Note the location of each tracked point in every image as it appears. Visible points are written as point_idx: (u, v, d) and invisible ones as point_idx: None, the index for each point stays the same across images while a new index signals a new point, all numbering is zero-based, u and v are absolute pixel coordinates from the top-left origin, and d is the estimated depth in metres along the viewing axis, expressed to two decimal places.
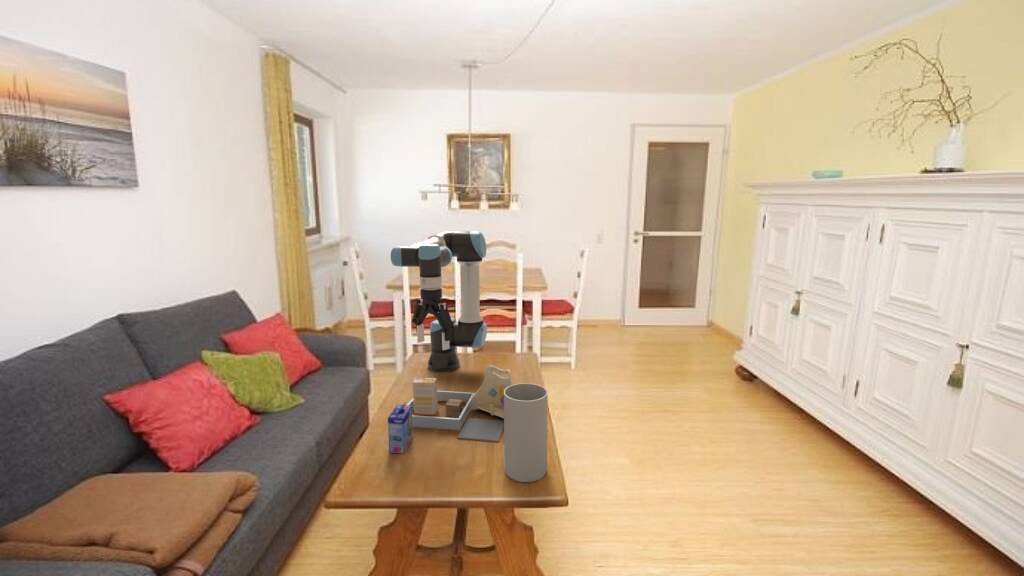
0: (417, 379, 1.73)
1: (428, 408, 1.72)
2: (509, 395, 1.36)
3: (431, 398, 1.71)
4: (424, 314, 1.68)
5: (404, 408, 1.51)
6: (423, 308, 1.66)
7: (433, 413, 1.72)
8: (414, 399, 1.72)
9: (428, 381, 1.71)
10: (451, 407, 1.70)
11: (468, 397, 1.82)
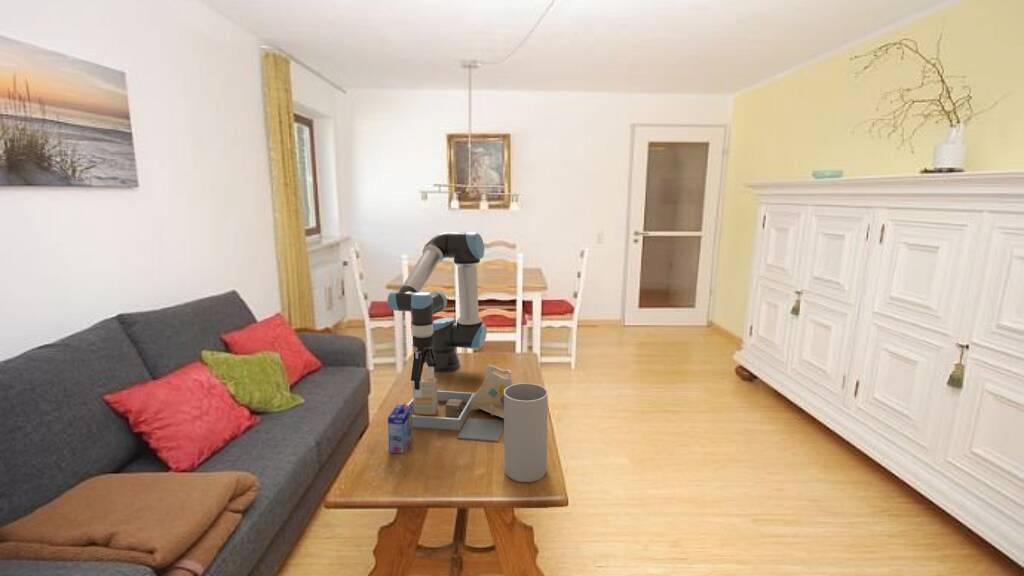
0: None
1: (428, 408, 1.72)
2: (509, 395, 1.36)
3: (431, 398, 1.71)
4: (426, 358, 1.74)
5: (404, 408, 1.51)
6: None
7: (433, 413, 1.72)
8: (414, 399, 1.72)
9: (428, 381, 1.71)
10: (451, 407, 1.70)
11: (468, 397, 1.82)
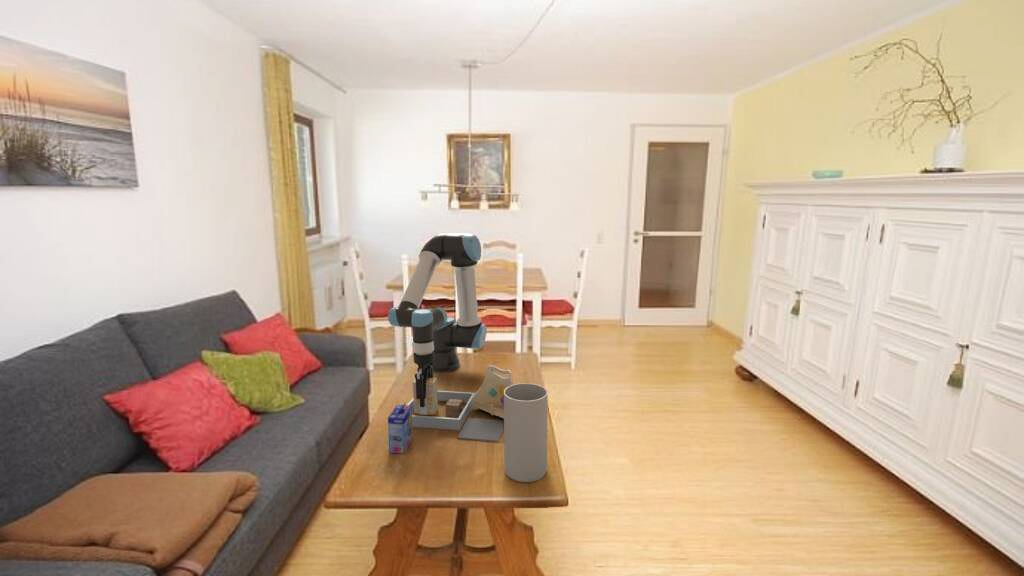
0: None
1: (428, 408, 1.72)
2: (509, 395, 1.36)
3: (431, 398, 1.71)
4: (425, 377, 1.74)
5: (404, 408, 1.51)
6: None
7: (433, 413, 1.72)
8: (414, 399, 1.72)
9: (428, 381, 1.71)
10: (451, 407, 1.70)
11: (468, 397, 1.82)
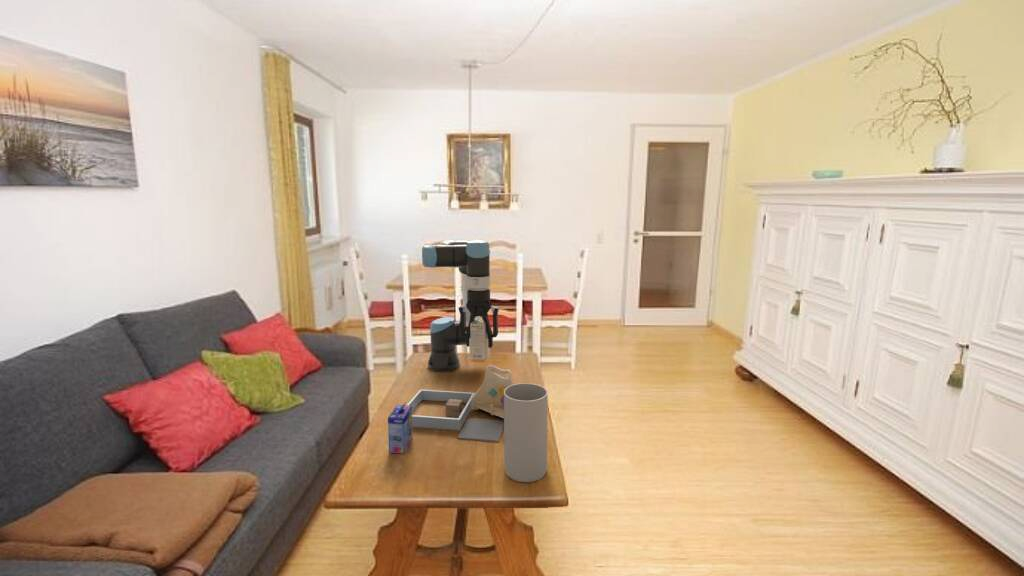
0: (476, 323, 1.51)
1: None
2: (509, 395, 1.36)
3: (487, 336, 1.58)
4: (473, 320, 1.54)
5: (404, 408, 1.51)
6: (472, 312, 1.52)
7: None
8: (484, 343, 1.51)
9: None
10: (451, 407, 1.70)
11: (468, 397, 1.82)
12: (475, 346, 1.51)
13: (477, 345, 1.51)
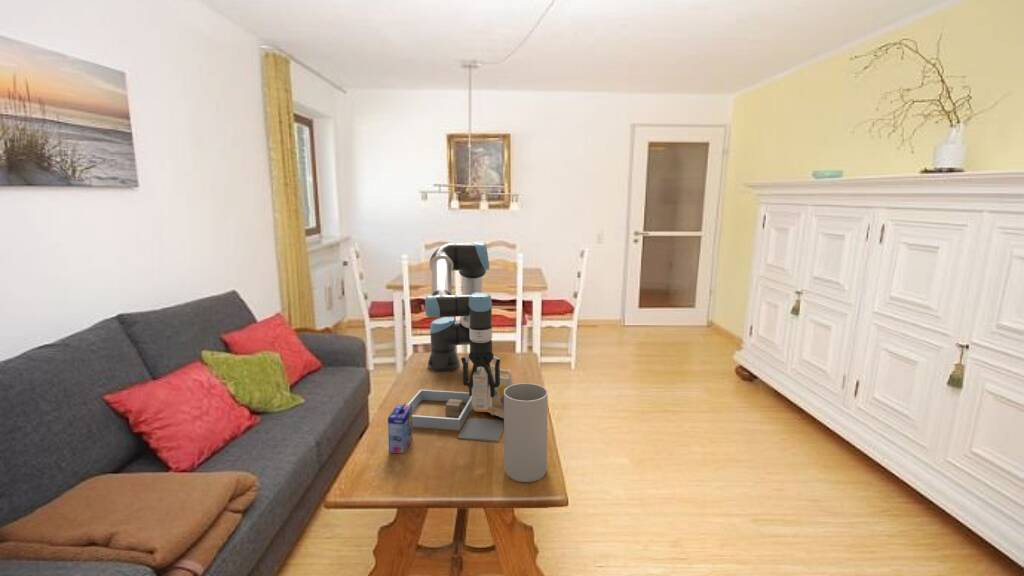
0: (478, 374, 1.54)
1: None
2: (509, 395, 1.36)
3: None
4: None
5: (404, 408, 1.51)
6: (474, 363, 1.55)
7: None
8: (486, 394, 1.55)
9: None
10: (451, 407, 1.70)
11: (468, 397, 1.82)
12: (478, 397, 1.54)
13: (479, 395, 1.54)
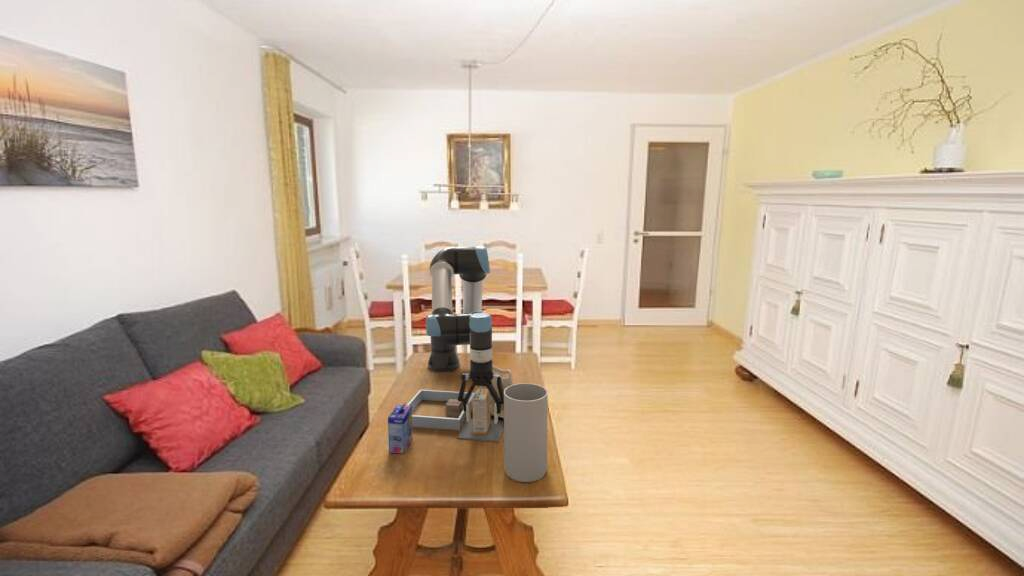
0: (478, 397, 1.56)
1: (489, 419, 1.62)
2: (509, 395, 1.36)
3: (489, 407, 1.62)
4: (473, 388, 1.58)
5: (404, 408, 1.51)
6: (474, 382, 1.56)
7: None
8: (486, 417, 1.56)
9: (485, 391, 1.60)
10: (451, 407, 1.70)
11: None
12: (477, 419, 1.56)
13: (479, 418, 1.56)
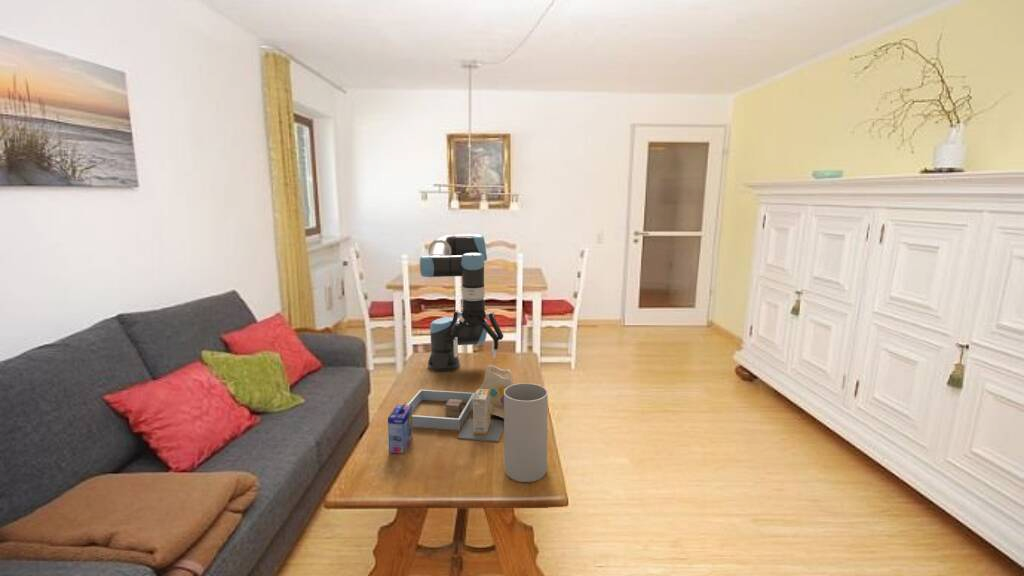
0: (478, 397, 1.56)
1: (489, 419, 1.62)
2: (509, 395, 1.36)
3: (489, 407, 1.62)
4: (463, 326, 1.61)
5: (404, 408, 1.51)
6: (465, 320, 1.59)
7: (490, 421, 1.64)
8: (486, 417, 1.56)
9: (485, 391, 1.60)
10: (451, 407, 1.70)
11: (468, 397, 1.82)
12: (477, 419, 1.56)
13: (479, 418, 1.56)
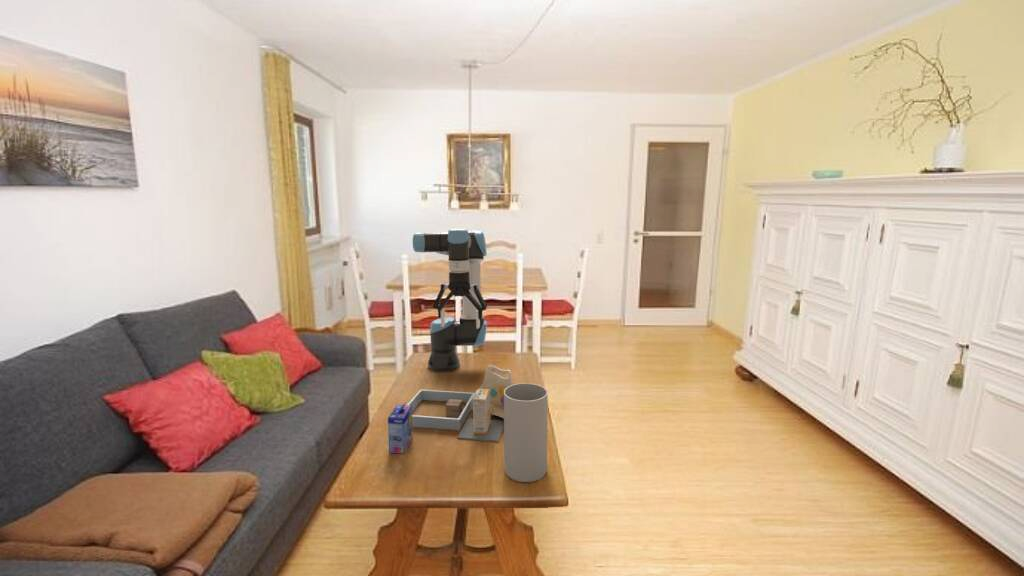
0: (478, 397, 1.56)
1: (489, 419, 1.62)
2: (509, 395, 1.36)
3: (489, 407, 1.62)
4: None
5: (404, 408, 1.51)
6: (451, 291, 1.71)
7: (490, 421, 1.64)
8: (486, 417, 1.56)
9: (485, 391, 1.60)
10: (451, 407, 1.70)
11: (468, 397, 1.82)
12: (477, 419, 1.56)
13: (479, 418, 1.56)
